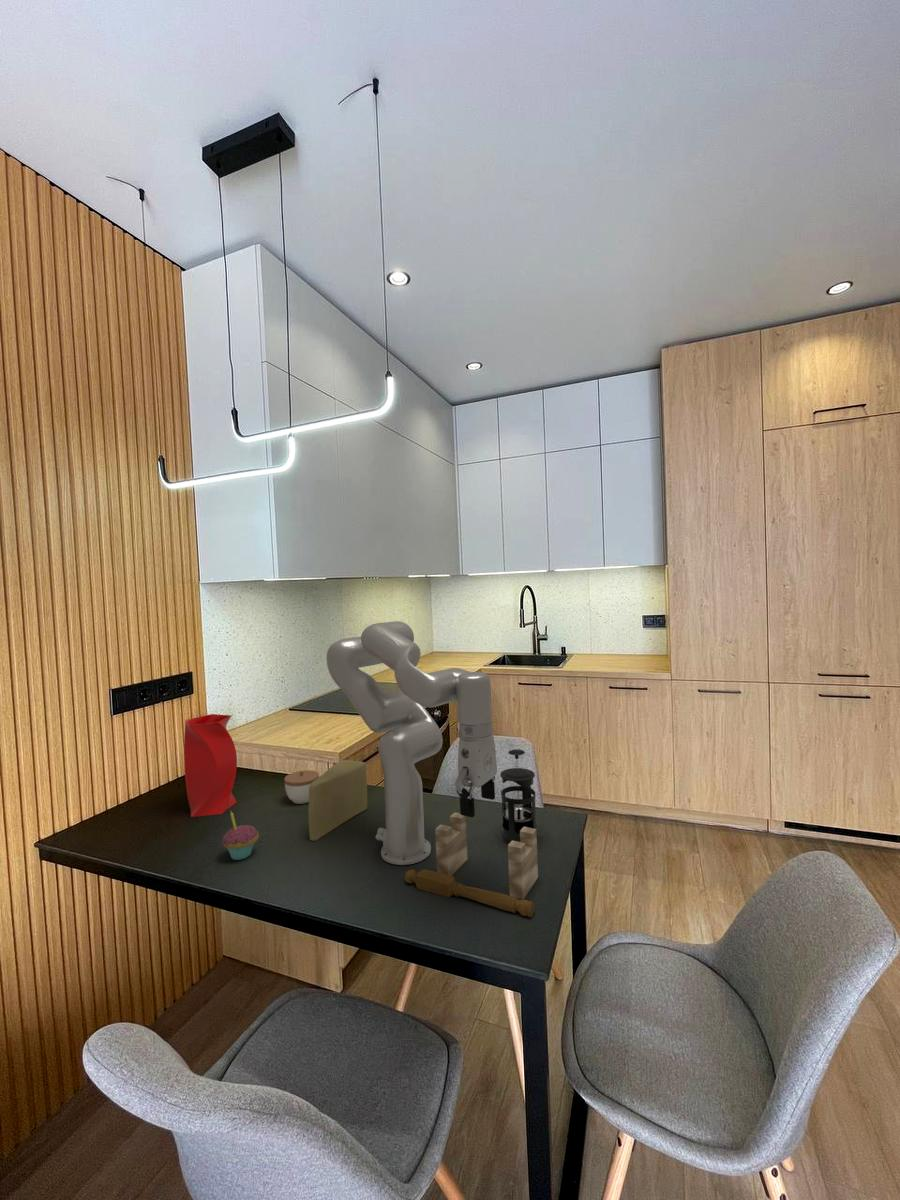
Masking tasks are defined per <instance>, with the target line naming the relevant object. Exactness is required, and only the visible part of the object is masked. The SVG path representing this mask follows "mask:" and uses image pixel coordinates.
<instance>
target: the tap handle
mask: <svg viewBox="0 0 900 1200" xmlns="http://www.w3.org/2000/svg"><path fill="white" fill-rule="evenodd" d="M404 880H405V882H406V883H407V884H415V887H416V888H417V889H418V890H422V891H424V892H425V891H426V892H429V893H431V894H432V893H433V894H435V895H438V896H439V895H440V896H442V897H446V898H450V897H451V896H455V897H463V898H465V899H468V900H473V901H475V902H479V903H481V904H485V905H488V906H491V907H494V908H498V909H500V910H503V911H505V912H512V913H513V914H515V913H517V912H518V913H519V915H521V916H524V917H528V918H532V917H533V915H534V913H535V903H534V901H532V900H530V901H529V900H528V899H525V898H524V899H523V900H520V899H518V898H517V897H513V896H510V894H505V893H501V892H496V891H493V890H487V889H482V888H477V887H473V886H469V885H464V884H462V882H458V881H456V878H455V876H453V875H452V876H449V875H445V874H441V873H438V872H437V871H433V870H429V869H426V868H424V869H421V870H419V872H416V870H415V869H408V870H407V871H406V872H405V874H404Z"/></svg>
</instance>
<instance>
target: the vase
mask: <svg viewBox="0 0 900 1200" xmlns="http://www.w3.org/2000/svg"><path fill="white" fill-rule="evenodd" d="M231 718H232V715H231V714H230V715H229V714H217V713H216V714H215V713H211V714H206V715H202V716H197V717H193V718H187V719H185V721H184V723H185V724H184V742H183V743H184V749H183V750H184V751H183V752H184V778H185V780H184V781H185V788H186V789H185V790H186V795H187V802H188V805H189V810H190V817H191V818H196V817H206V816H213V815H215V816H216V815H221V814H223V813H224V812H226V811H227V810H228V809H230V808H231V807H232V806H234V805H235V804H236V803H237V800H236V798H235V796H234V795H233V793H232V791H233V788H234V784H235V780H236V775H237V769H238V768H237V766H238V759H237V756H238V755H237V749H236V747H235V742H234V740H233V738H232V736H231V735H230V733H229V731H228V729H227V725H228V723H229V721H230V719H231Z"/></svg>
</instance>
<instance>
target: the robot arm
mask: <svg viewBox="0 0 900 1200" xmlns="http://www.w3.org/2000/svg"><path fill="white" fill-rule="evenodd" d="M414 641H415V635H414V632H413V629H412V627H410V625H408V624H407V623H406V622H403V621H398V620H397V621H385V622H376V623H372V624H370V625H368V626H366V627H365V628H364V629H363V631H362V633H361V635H360V636H355V637H354V636H353V637H347V638H342V639H339V640H337V641H335V642H333V643H332V644H331V645H330V646H329V648H328V649H327V651H326V667H327V670H328V672H329V673H328V674H329V675H330V677H331V678H332V681H334V683H335V684H336V686H337V687H338V688H339V689H340V690H341V691H342V692H343V693H344V694H345V696H346V697H347V698H348V699H349V701H350V702H351V704H352V705H353V707H354V708H355V710H356V711H357V713H358V715H359V716H360V717H361V719H362V720H363V722H364V724H365V725H366V726H367V728H369V730H370V731H371V732H374V733H376V734H377V733H383V732H385V733H384V734H383V735H381V738H380V739H379V742H378V746H377V747H378V754H379V759H380V763H381V767H382V776H383V787H384V789H383V792H384V811H385V828H384V827H379V828H378V829H377V831H376V835H375V840H377V841H381V842H382V844H383V845H382V847H381V849H380V856H381V858H382V860H384V861H385V862H387V863H389V864H392V865H397V866H406V865H407V866H408V865H413V864H416V863H417V864H418V863H420V862H423V860H425V859H426V858H427V857H429V856H430V855H431V851H432V846H431V842H430V841H429V840H427V839H426V838H425V824H424V821H425V819H424V797H423V794H424V793H423V781H422V777H421V775H420V773H419V772H418V770H417V768H416V766H415V764H416V763H418V762H420V761H422V760H425V759H427V758H430V757H431V756H434V755H436V754H438V753H439V752H440V750H441V749H442V746H443V741H444V739H443V735H442V731H441V729H440V728H439V725H438V724H437V722H436V721H435V720H434V718H433V717H432V715H431V714H430V713H429V711H428V710H427V709H426V708H435V707H439V706H442V705H446V704H450V703H453V702H456V711H457V714H456V715H457V736H458V738H459V740H458V752H457V754H458V755H457V768H458V769H457V771H458V772H457V773H458V774H457V775H458V776H457V777H456V779H455V781H454V786H455V789H456V793H457V794H458V795H457V796H458V798H459V811H460V812H459V813H461V815H463V816H466V817H469V818H474V817H475V816H476V815H475V813H476V812H475V811H476V809H475V808H476V807H475V798H474V797H473V796H474V791H475V789H476V788H477V789H478V788H480V789H481V791H480V793H481V794H480V796H481V798H482V799H487V800H492V801H493V800H495V799H496V788H495V780H496V776H497V775H496V774H497V773H498V766H497V765H498V764H497V763H498V762H497V753H496V744H495V738H494V734H493V718H492V717H493V715H492V714H493V712H492V689H491V678H490V676H489V674H488V673H485V672H482V671H469V670H466V669H463V668H459V667H458V668H457V667H452V668H447V669H440V670H435V671H431V672H425V671H423V670H421V669H420V668H418V667H417V666H418V665H419V663H420V659H421V648H420V647H419V646H418V644H417V643H416V642H414ZM380 664H384V665H385V666H386V667H388V668H389V669H391V670H392V671H394V678H395V682H396V685H397V686H398V688H399V690H396V691H395V690H394V691H391V692H386V691H384V689H383V688H382V687H381V685H380V684H379V683H378V682H377V680H376V679H375V678H374V677H373V676H371V675H370V674H368V673H367V672H365V671H362V670H361V669H360V668H365V667H370V666H376V665H380ZM466 787H468V788H469V789H468V790H467V789H466Z"/></svg>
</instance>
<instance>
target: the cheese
mask: <svg viewBox="0 0 900 1200" xmlns="http://www.w3.org/2000/svg"><path fill="white" fill-rule="evenodd" d="M367 809H368V779H367V764H366V762H364V761H357V760H348V759H347V760H346V759H341V760H338V761H337V762H336V763H335V764H333V765H332V766H331V767H329V769H327V770H325V772H324V773H322V774H321V775H319V778H317V779H316V780H315V781H314V782H312V783H311V784H310V786H309V802H308V815H307V816H308V817H307V818H308V833H309V840H310V841H311V842H315V841H318V840H319V839H321V838H322V837H324V836H325V835H327V834H329V833H331V831H333V830H334V829H335V830H336V828H338V827H340V826H341V825H342V824H344V823H346V822H347V821H349V820H351V819H352V818H353V817H355V816H357V815H358V814H361V813H362V812H364V811H366V810H367Z"/></svg>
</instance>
